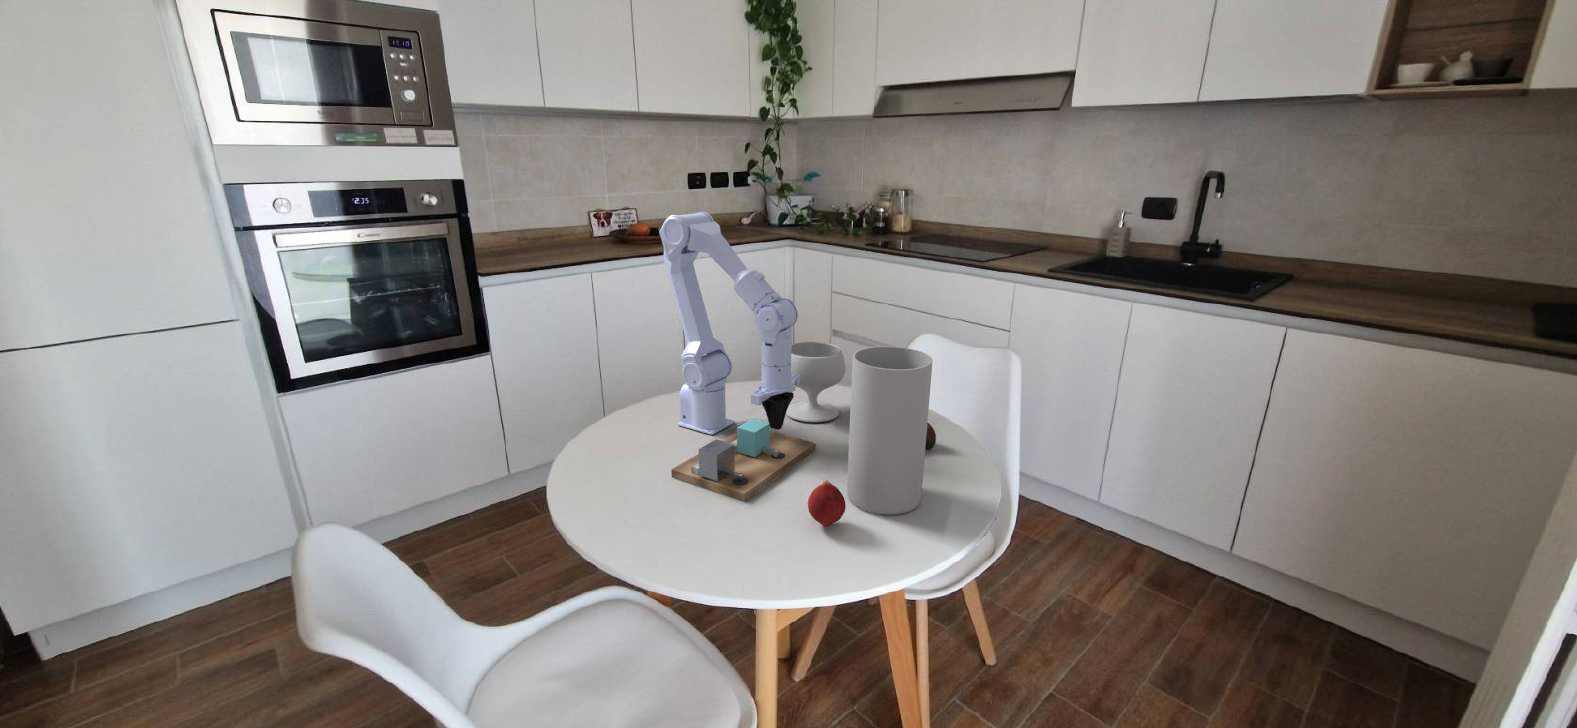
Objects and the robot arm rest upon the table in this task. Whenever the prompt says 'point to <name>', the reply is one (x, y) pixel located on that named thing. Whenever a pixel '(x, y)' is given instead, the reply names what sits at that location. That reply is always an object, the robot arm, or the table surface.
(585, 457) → the table surface
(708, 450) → the fixed leg
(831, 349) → the chalice
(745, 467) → the board
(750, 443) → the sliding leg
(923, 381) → the cylinder vase
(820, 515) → the onion
